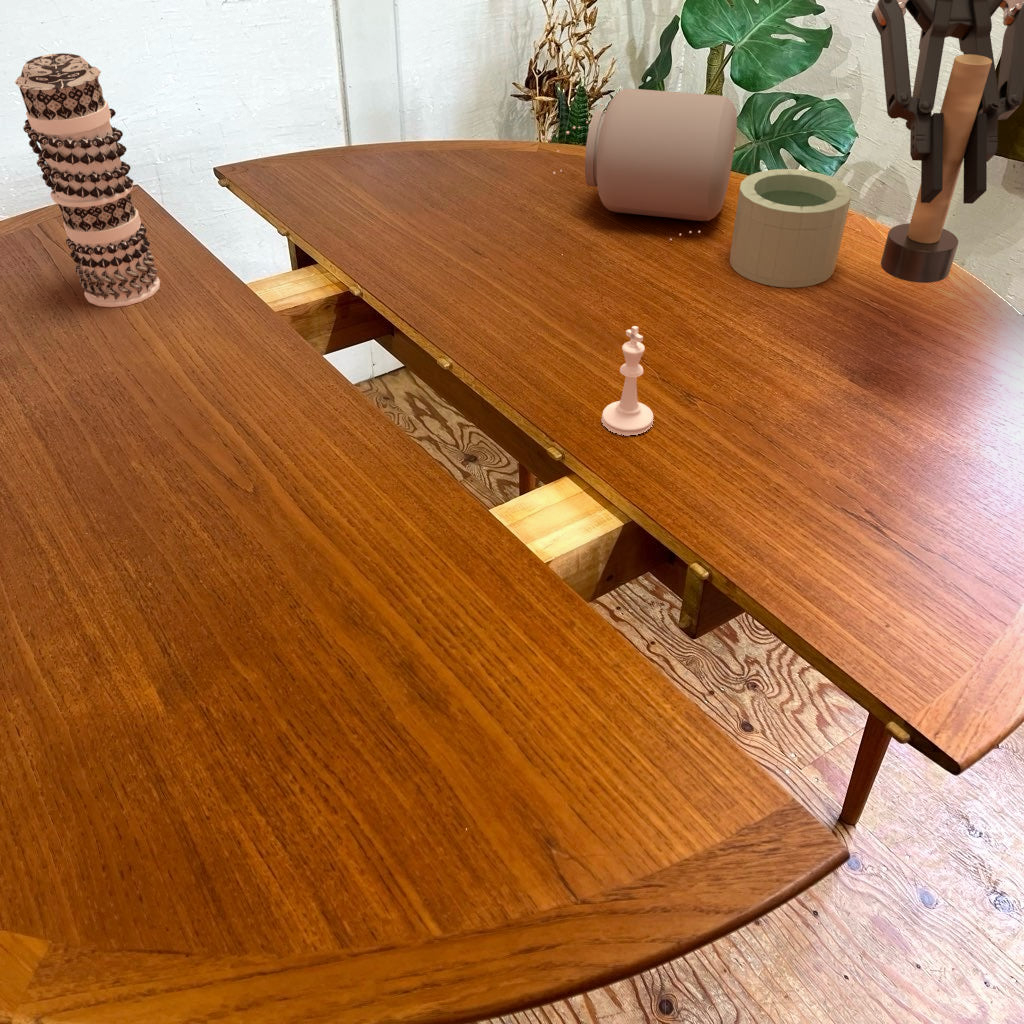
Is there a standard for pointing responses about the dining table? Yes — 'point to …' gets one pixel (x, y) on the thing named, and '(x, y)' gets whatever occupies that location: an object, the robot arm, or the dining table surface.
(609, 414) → the chess piece
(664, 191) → the jar
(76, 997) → the dining table surface
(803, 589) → the dining table surface
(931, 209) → the brush
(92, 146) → the decorative candle
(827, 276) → the gray beige cylindrical container
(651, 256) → the dining table surface
